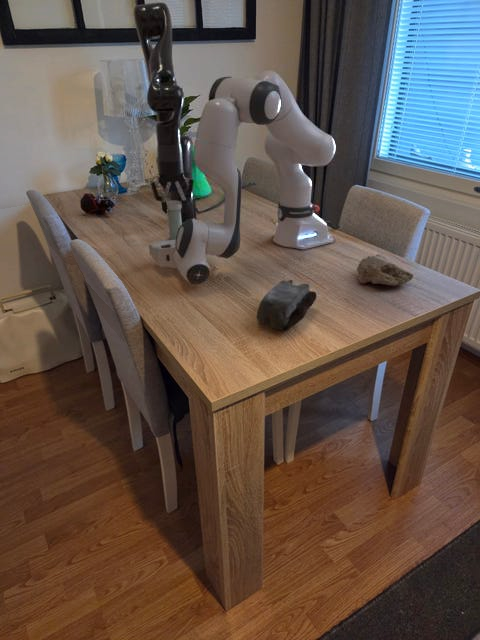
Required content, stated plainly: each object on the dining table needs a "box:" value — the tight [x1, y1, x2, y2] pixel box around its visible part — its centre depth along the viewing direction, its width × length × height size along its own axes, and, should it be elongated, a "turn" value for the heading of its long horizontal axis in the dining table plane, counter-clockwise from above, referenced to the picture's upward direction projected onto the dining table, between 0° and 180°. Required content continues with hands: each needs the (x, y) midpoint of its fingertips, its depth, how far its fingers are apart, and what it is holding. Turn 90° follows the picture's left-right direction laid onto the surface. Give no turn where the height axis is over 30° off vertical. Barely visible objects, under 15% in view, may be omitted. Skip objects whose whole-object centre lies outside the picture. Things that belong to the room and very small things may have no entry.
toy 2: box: [168, 137, 212, 200], centre depth 210 cm, size 20×20×25 cm
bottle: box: [167, 209, 182, 240], centre depth 149 cm, size 4×4×18 cm
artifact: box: [356, 254, 414, 286], centre depth 138 cm, size 18×7×15 cm
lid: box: [166, 200, 182, 211], centre depth 144 cm, size 5×5×2 cm
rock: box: [256, 279, 317, 332], centre depth 117 cm, size 18×11×8 cm, turn 152°
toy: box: [79, 192, 117, 218], centre depth 189 cm, size 12×9×15 cm
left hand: (174, 211), depth 146 cm, fingers closed on lid, 5 cm apart
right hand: (175, 238), depth 151 cm, fingers closed on bottle, 4 cm apart
